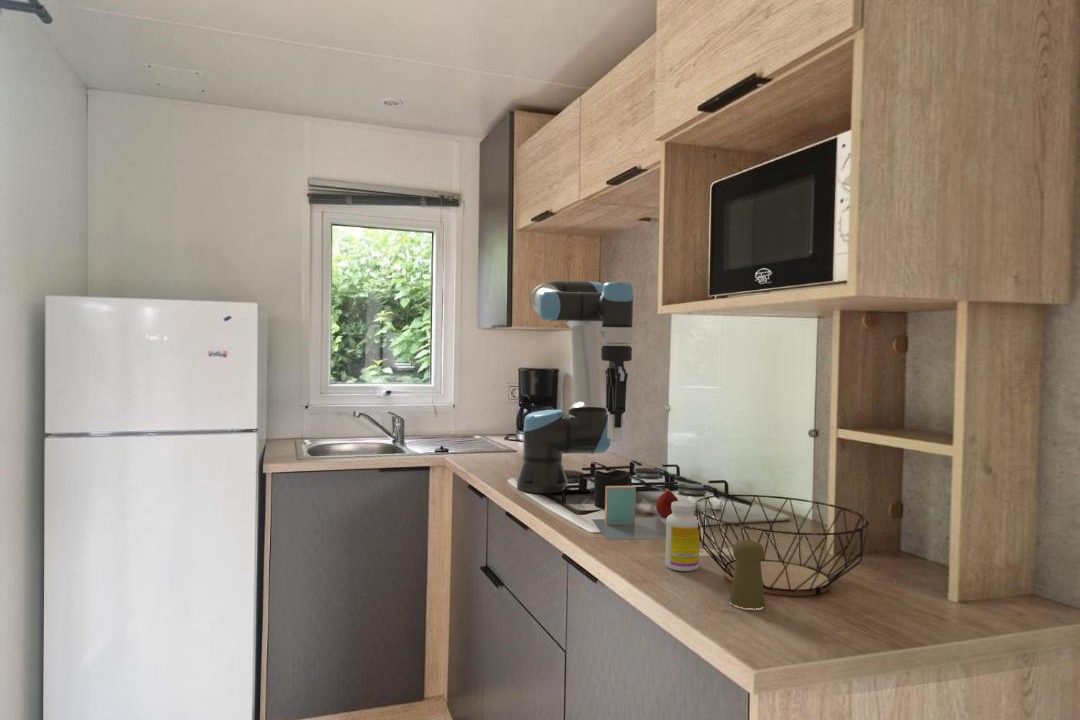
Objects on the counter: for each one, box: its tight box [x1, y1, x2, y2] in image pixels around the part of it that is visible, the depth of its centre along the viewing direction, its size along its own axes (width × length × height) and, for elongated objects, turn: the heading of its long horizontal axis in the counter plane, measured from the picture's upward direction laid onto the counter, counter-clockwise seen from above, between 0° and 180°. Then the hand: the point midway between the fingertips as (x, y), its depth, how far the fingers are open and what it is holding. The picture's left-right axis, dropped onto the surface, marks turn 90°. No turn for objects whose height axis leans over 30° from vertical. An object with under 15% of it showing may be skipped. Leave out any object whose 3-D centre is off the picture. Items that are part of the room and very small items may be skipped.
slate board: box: [591, 517, 666, 541], centre depth 164 cm, size 17×17×1 cm
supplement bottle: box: [664, 500, 701, 572], centre depth 140 cm, size 7×7×13 cm
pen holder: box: [593, 469, 631, 510], centre depth 186 cm, size 9×9×10 cm
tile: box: [604, 485, 637, 525], centre depth 167 cm, size 2×7×9 cm, turn 97°
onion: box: [655, 488, 679, 518], centre depth 176 cm, size 6×6×8 cm
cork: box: [729, 539, 766, 609], centre depth 121 cm, size 6×6×11 cm
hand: (614, 439), depth 174 cm, fingers open, 3 cm apart
